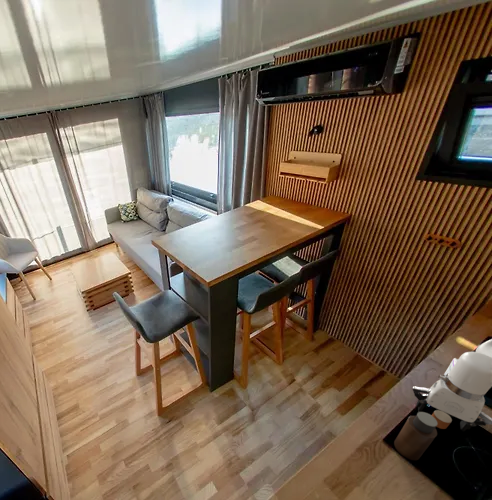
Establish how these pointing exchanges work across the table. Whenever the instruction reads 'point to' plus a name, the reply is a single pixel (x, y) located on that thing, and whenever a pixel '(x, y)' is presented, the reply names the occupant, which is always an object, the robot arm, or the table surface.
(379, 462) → the table surface
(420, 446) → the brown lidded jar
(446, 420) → the orange jar cap
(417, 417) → the grey short cylinder
